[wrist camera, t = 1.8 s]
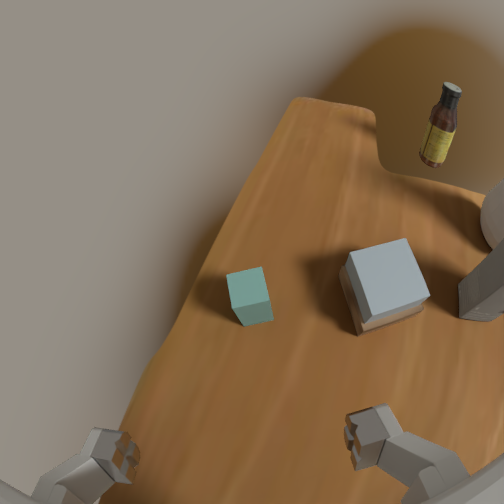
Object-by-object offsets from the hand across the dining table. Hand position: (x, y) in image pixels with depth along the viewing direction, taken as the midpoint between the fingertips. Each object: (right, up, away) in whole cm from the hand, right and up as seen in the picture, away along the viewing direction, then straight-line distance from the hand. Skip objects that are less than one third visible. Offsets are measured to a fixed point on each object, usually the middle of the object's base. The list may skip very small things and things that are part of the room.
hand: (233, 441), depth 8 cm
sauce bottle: (+41, +28, +44) cm, 66 cm away
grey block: (+19, +2, +29) cm, 35 cm away
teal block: (+1, -2, +33) cm, 34 cm away
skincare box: (+39, -2, +28) cm, 48 cm away
